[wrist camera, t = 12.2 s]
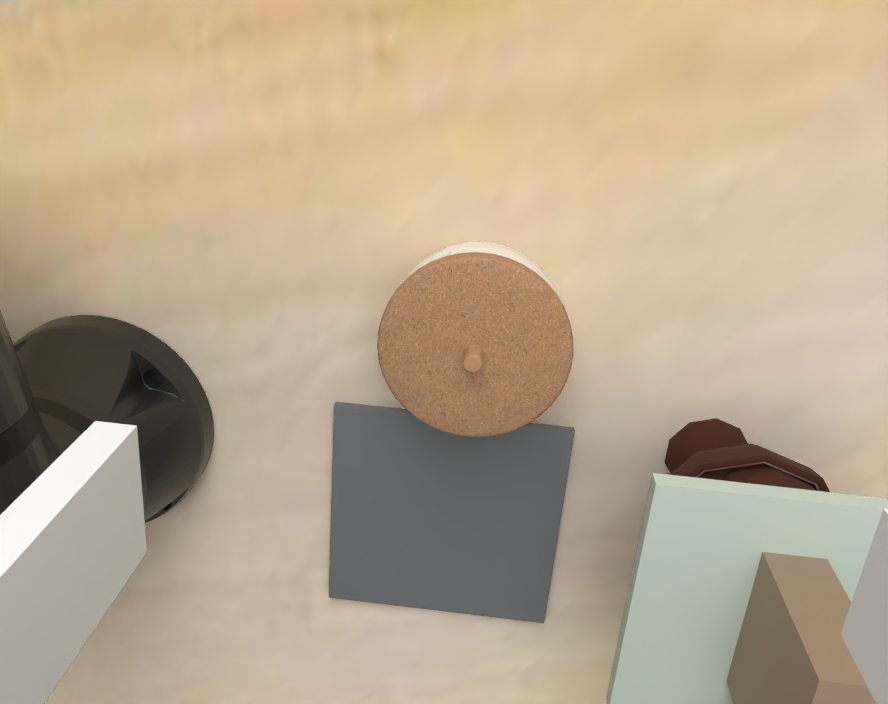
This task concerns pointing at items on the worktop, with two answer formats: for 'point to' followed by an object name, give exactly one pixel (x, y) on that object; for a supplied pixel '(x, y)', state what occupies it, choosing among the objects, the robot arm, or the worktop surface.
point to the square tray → (445, 514)
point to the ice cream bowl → (734, 458)
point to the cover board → (743, 595)
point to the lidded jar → (476, 340)
